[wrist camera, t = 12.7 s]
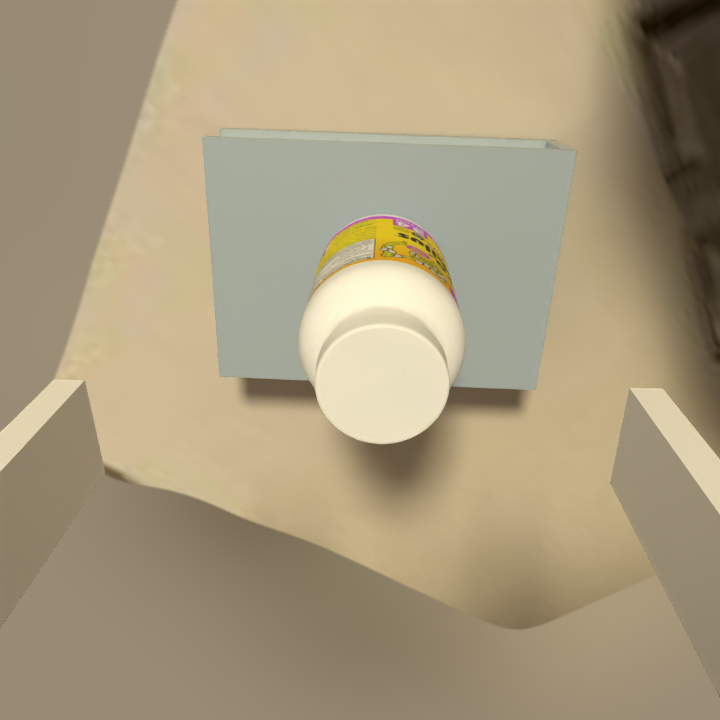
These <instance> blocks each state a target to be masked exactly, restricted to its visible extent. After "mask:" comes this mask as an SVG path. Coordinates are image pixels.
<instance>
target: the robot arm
mask: <svg viewBox="0 0 720 720" xmlns="http://www.w3.org/2000/svg"><path fill="white" fill-rule="evenodd" d="M104 474H105V470H104V465H103V461H102V456H101V452H100V447H99V443H98V438H97V434H96V429H95V424H94V420H93V415H92V411H91V406H90V402H89V397H88V393H87V388H86V384H85V380H53V381H52V382H51V383H50V384H49V385H48V386H47V387H46V388H45V389H44V390H43V391H42V392H41V393H40V394H39V395H38V396H37V397H36V398H35V399H34V400H33V401H32V402H31V403H30V404H29V405H28V406H27V407H26V408H25V409H24V410H23V411H22V412H21V413H20V414H19V415H18V416H17V417H16V418H15V419H14V420H13V421H12V422H11V423H10V424H9V425H8V426H7V427H6V428H4V430H2V431H1V432H0V628H1V627H2V625H3V624H4V622H5V621H6V619H7V618H8V616H9V615H10V613H11V612H12V611H13V609H14V608H15V606H16V604H17V603H18V602H19V600H20V599H21V597H22V596H23V594H24V593H25V591H26V590H27V588H28V587H29V585H30V584H31V582H32V581H33V579H34V578H35V576H36V575H37V573H38V572H39V570H40V569H41V567H42V566H43V564H44V563H45V561H46V560H47V559H48V557H49V555H50V554H51V552H52V551H53V549H54V548H55V547H56V545H57V544H58V542H59V541H60V539H61V538H62V536H63V535H64V533H65V532H66V530H67V529H68V527H69V525H70V524H71V523H72V521H73V520H74V518H75V517H76V515H77V514H78V512H79V511H80V509H81V508H82V506H83V505H84V504H85V502H86V501H87V499H88V497H89V496H90V494H91V493H92V492H93V490H94V489H95V487H96V486H97V484H98V483H99V481H100V480H101V478H102V476H103V475H104ZM610 484H611V485H612V487H613V489H614V491H615V493H616V495H617V497H618V499H619V501H620V503H621V505H622V507H623V509H624V511H625V513H626V515H627V517H628V519H629V521H630V523H631V525H632V527H633V528H634V530H635V532H636V534H637V536H638V538H639V540H640V542H641V544H642V546H643V548H644V550H645V552H646V554H647V556H648V558H649V560H650V562H651V564H652V566H653V568H654V570H655V571H656V573H657V575H658V577H659V579H660V581H661V583H662V585H663V587H664V589H665V591H666V593H667V595H668V597H669V599H670V601H671V603H672V605H673V607H674V608H675V610H676V612H677V614H678V616H679V618H680V620H681V622H682V624H683V626H684V628H685V630H686V632H687V634H688V636H689V638H690V640H691V642H692V644H693V645H694V648H695V650H696V652H697V653H698V656H699V657H700V659H701V661H702V663H703V665H704V667H705V669H706V671H707V673H708V675H709V677H710V679H711V681H712V683H713V685H714V687H715V689H716V691H717V693H718V695H719V696H720V459H719V458H718V456H717V455H716V454H715V453H714V451H713V450H712V449H711V448H710V446H709V445H708V444H707V443H706V442H705V440H704V439H703V438H702V437H701V435H700V434H699V433H698V432H697V430H696V429H695V428H694V427H693V425H692V424H691V423H690V422H689V421H688V419H687V418H686V417H685V416H684V414H683V413H682V412H681V411H680V409H679V408H678V407H677V406H676V404H675V403H674V402H673V401H672V400H671V398H670V397H669V396H668V395H667V393H666V392H665V391H664V390H663V388H629V393H628V398H627V403H626V408H625V413H624V418H623V423H622V428H621V433H620V437H619V442H618V447H617V452H616V457H615V462H614V467H613V472H612V477H611V482H610Z"/></svg>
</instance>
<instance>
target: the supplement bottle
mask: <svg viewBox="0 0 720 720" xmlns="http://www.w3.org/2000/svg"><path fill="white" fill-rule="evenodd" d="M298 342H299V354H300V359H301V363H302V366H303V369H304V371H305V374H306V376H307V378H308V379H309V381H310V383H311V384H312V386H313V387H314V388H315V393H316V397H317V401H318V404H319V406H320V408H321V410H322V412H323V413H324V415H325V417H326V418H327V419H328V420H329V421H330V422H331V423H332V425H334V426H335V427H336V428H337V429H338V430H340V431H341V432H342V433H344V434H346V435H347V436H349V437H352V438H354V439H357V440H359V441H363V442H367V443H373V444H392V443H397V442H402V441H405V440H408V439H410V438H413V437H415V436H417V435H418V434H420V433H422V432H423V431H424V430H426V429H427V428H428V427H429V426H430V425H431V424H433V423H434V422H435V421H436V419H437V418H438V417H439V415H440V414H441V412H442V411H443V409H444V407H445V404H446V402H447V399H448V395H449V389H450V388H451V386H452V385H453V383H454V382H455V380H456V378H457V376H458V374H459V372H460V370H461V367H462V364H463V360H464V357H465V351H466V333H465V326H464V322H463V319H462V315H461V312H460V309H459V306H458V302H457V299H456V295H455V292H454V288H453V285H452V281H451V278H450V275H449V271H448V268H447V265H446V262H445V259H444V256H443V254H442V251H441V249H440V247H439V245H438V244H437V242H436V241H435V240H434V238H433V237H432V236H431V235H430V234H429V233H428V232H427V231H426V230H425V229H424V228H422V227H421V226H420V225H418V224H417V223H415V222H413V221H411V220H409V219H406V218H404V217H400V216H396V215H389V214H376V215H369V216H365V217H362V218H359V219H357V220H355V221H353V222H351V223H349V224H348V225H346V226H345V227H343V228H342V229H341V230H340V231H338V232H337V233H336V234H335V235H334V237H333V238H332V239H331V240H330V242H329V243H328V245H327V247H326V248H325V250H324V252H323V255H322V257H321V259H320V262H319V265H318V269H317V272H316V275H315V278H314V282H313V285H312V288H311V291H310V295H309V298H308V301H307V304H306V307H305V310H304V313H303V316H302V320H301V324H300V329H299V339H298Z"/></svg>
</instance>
